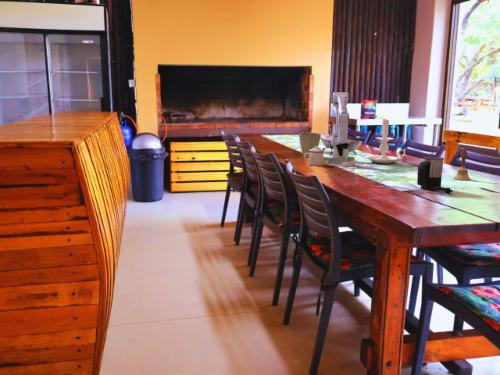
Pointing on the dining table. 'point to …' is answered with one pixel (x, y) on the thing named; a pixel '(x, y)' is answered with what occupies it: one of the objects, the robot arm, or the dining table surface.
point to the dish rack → (341, 161)
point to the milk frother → (431, 174)
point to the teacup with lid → (315, 156)
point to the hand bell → (462, 169)
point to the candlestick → (385, 147)
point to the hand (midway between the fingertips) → (341, 155)
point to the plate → (345, 154)
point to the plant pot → (308, 142)
